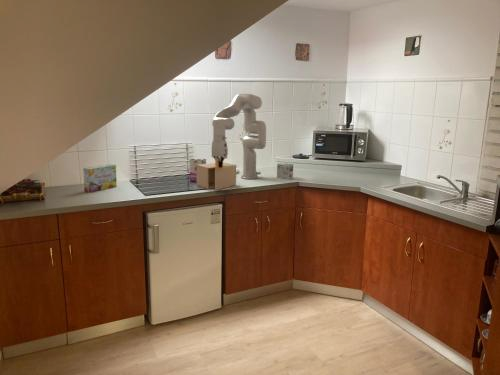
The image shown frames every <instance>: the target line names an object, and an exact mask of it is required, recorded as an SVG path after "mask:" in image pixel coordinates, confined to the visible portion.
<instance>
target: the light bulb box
mask: <svg viewBox="0 0 500 375" xmlns="http://www.w3.org/2000/svg"><path fill="white" fill-rule="evenodd" d="M277 177H278V178H277ZM276 178H277V179H282V178H285V179H284V180H292V179H293V178H294V163H293V164H292V163H286V162H285V163H284V162H283V163H282V162H280V163H277V166H276ZM291 178H292V179H291Z"/></svg>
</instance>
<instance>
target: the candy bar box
mask: <svg viewBox="0 0 500 375" xmlns="http://www.w3.org/2000/svg"><path fill="white" fill-rule="evenodd" d="M200 164H207V158H198V157H197V158H196V157H191V158H189V181H190V182H192V183H197V165H200Z"/></svg>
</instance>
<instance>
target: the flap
mask: <svg viewBox="0 0 500 375" xmlns="http://www.w3.org/2000/svg"><path fill="white" fill-rule="evenodd" d="M219 160H220V157H219V158H215V159H214V161H215V162H214V163H215V188H214V190H215V191H217V190H223V189H225V188H229V187H233V186H236V185H237V165H236V164H233V166H228V167H221V168H219Z"/></svg>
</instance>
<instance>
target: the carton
mask: <svg viewBox="0 0 500 375" xmlns="http://www.w3.org/2000/svg"><path fill="white" fill-rule="evenodd" d="M233 165H234V164H233V163H229V162H225V161H223V167H228V166H233ZM196 186H198V187H201V188H204V189H207V190H210V189H215V162H212V163H206V164H200V165H197V182H196Z"/></svg>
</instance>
